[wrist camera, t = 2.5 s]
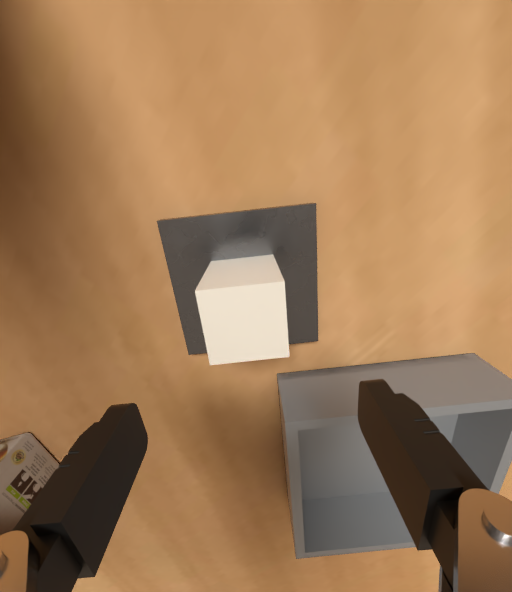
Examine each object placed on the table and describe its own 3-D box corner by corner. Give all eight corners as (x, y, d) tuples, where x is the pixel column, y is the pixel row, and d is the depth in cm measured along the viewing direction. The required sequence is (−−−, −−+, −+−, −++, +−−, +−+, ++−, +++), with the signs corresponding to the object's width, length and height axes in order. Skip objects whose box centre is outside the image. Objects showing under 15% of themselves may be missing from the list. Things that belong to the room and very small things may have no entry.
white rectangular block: (220, 316, 22) (210, 365, 16) (210, 261, 20) (194, 290, 14) (277, 310, 22) (289, 356, 16) (273, 254, 20) (284, 281, 14)
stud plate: (191, 348, 25) (174, 393, 19) (161, 219, 20) (128, 229, 15) (315, 335, 24) (335, 377, 19) (312, 202, 20) (338, 205, 14)
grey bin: (287, 497, 33) (296, 558, 28) (276, 373, 26) (284, 422, 20) (441, 482, 33) (480, 540, 28) (473, 353, 26) (536, 396, 20)
